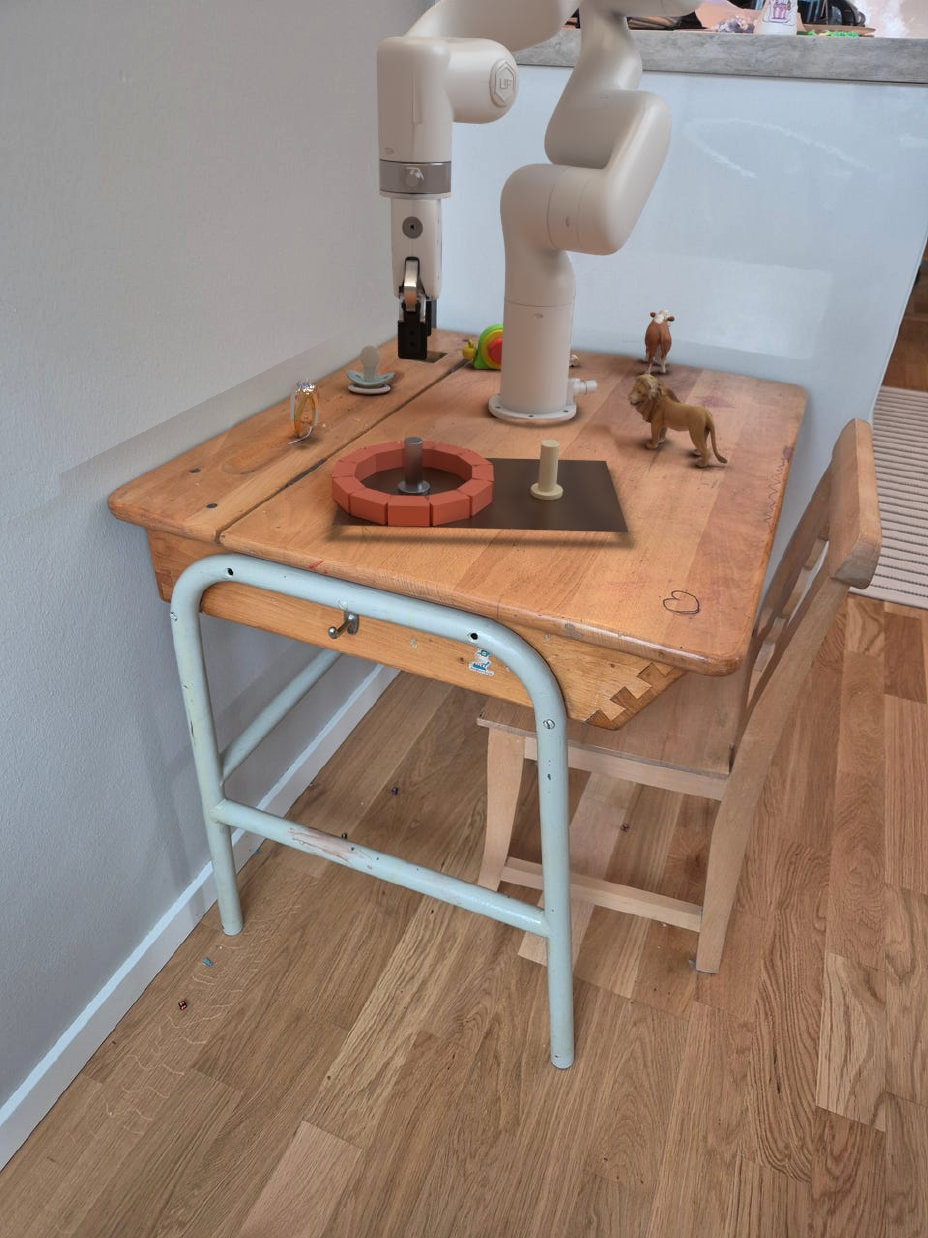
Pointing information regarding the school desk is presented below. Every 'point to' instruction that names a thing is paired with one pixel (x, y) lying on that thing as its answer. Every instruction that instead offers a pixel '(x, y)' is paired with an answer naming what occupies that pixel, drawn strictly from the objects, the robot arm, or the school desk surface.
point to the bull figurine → (658, 339)
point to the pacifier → (369, 374)
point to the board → (519, 497)
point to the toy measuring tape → (492, 349)
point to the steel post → (413, 469)
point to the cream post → (548, 472)
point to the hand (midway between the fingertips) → (415, 346)
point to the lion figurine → (673, 416)
